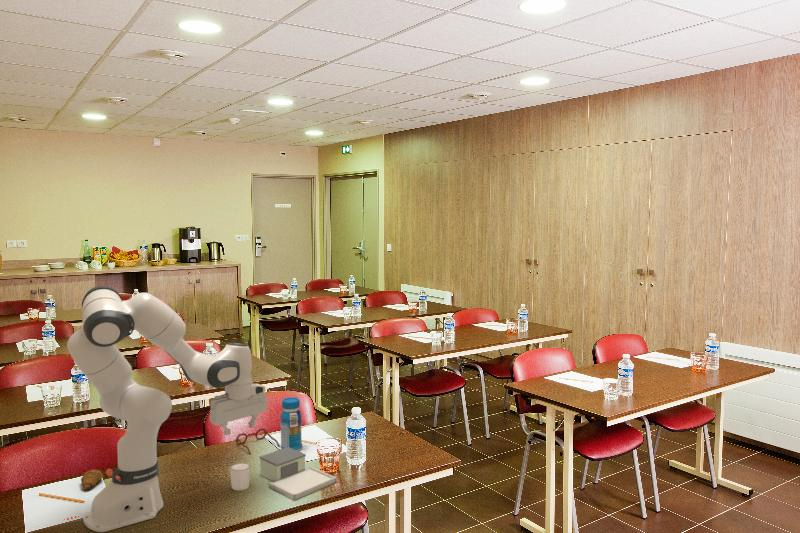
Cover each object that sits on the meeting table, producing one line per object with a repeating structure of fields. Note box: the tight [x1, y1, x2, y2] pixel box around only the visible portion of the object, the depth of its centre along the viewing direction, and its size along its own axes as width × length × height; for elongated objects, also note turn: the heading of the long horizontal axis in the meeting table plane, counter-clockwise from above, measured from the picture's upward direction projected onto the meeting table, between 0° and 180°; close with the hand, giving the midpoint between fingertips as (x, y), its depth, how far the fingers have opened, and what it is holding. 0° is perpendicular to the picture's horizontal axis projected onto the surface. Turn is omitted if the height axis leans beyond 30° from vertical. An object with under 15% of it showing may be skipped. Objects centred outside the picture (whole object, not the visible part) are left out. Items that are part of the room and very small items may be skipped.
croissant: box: [80, 469, 104, 492], centre depth 203 cm, size 14×7×5 cm, turn 14°
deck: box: [258, 447, 337, 501], centre depth 206 cm, size 18×25×7 cm
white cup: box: [229, 462, 252, 491], centre depth 201 cm, size 7×7×7 cm
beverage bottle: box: [279, 397, 303, 452], centre depth 233 cm, size 8×8×20 cm
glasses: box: [235, 428, 281, 456], centre depth 237 cm, size 13×13×5 cm
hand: (239, 430), depth 200 cm, fingers open, 8 cm apart
